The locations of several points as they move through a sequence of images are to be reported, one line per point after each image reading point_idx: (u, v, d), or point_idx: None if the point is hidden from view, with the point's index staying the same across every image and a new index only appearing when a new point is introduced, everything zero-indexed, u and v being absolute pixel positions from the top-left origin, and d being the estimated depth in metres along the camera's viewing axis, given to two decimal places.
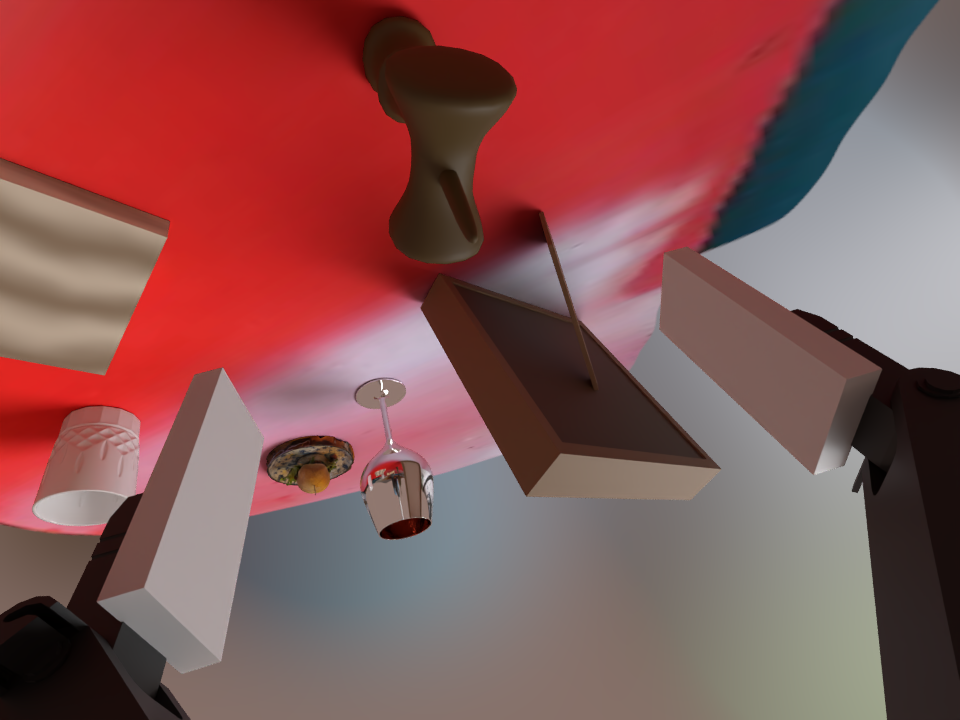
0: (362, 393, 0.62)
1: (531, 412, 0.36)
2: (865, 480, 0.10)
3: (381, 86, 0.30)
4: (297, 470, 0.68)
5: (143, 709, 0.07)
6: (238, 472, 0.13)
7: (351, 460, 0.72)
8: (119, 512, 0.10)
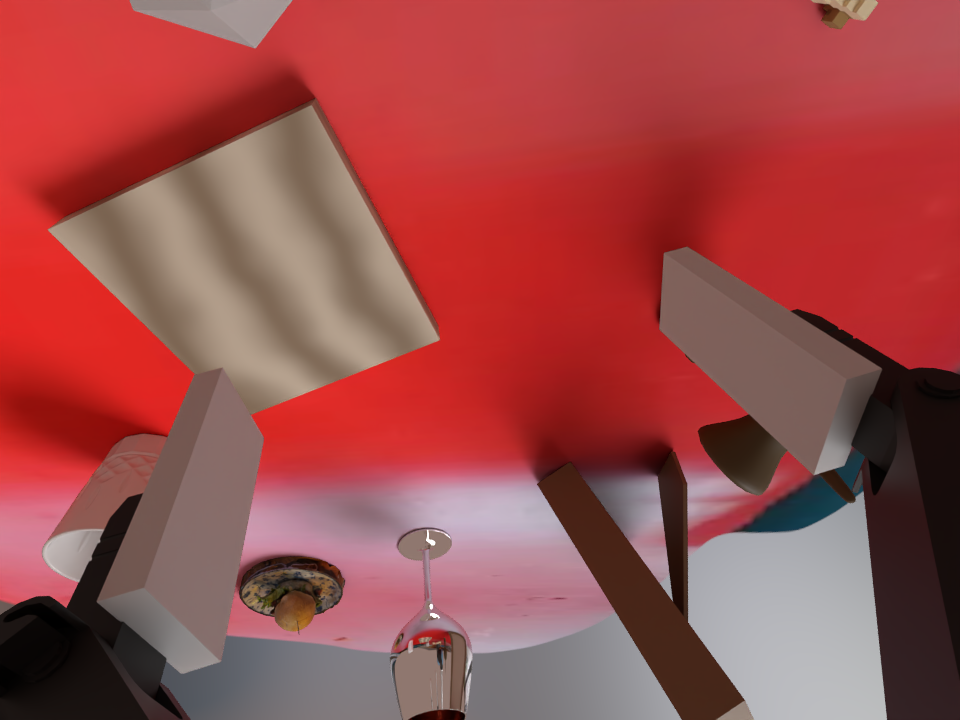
0: (411, 537, 0.58)
1: (701, 643, 0.37)
2: (865, 480, 0.10)
3: None
4: (281, 594, 0.57)
5: (143, 709, 0.07)
6: (238, 472, 0.13)
7: (333, 603, 0.62)
8: (119, 512, 0.10)
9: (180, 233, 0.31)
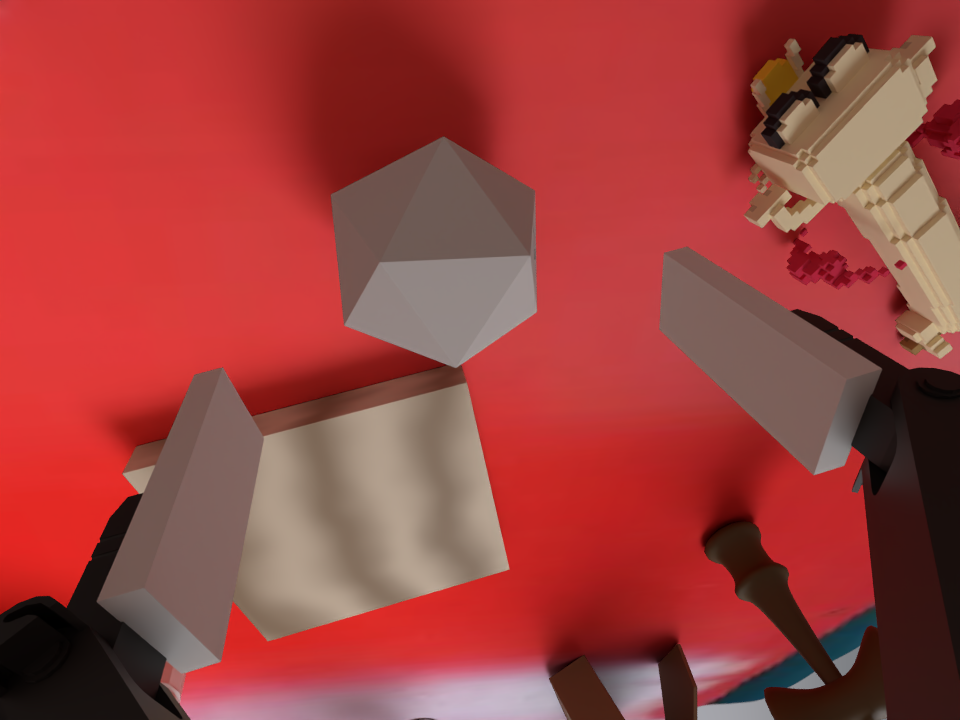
0: None
1: None
2: (865, 480, 0.10)
3: (757, 578, 0.40)
4: None
5: (143, 709, 0.07)
6: (238, 472, 0.13)
7: None
8: (119, 512, 0.10)
9: (278, 480, 0.27)
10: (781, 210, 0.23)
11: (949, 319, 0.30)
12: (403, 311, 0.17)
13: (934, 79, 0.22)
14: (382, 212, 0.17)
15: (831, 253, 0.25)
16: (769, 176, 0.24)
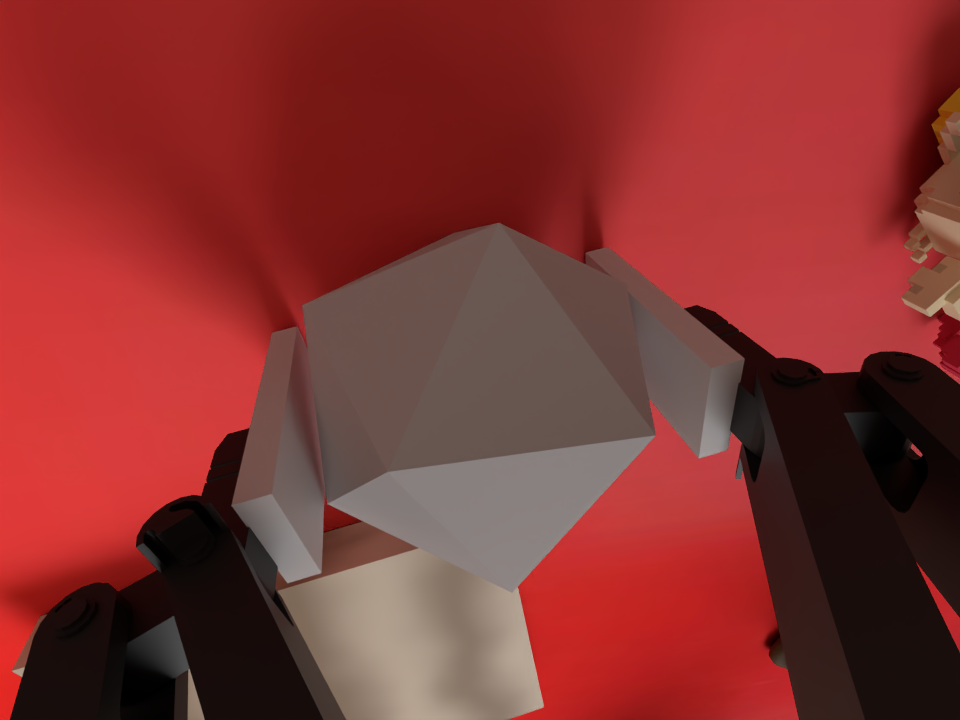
0: None
1: None
2: (744, 467, 0.11)
3: None
4: None
5: (270, 609, 0.08)
6: (315, 419, 0.14)
7: None
8: (223, 446, 0.12)
9: None
10: None
11: None
12: (427, 524, 0.10)
13: None
14: (391, 361, 0.09)
15: None
16: (937, 243, 0.17)
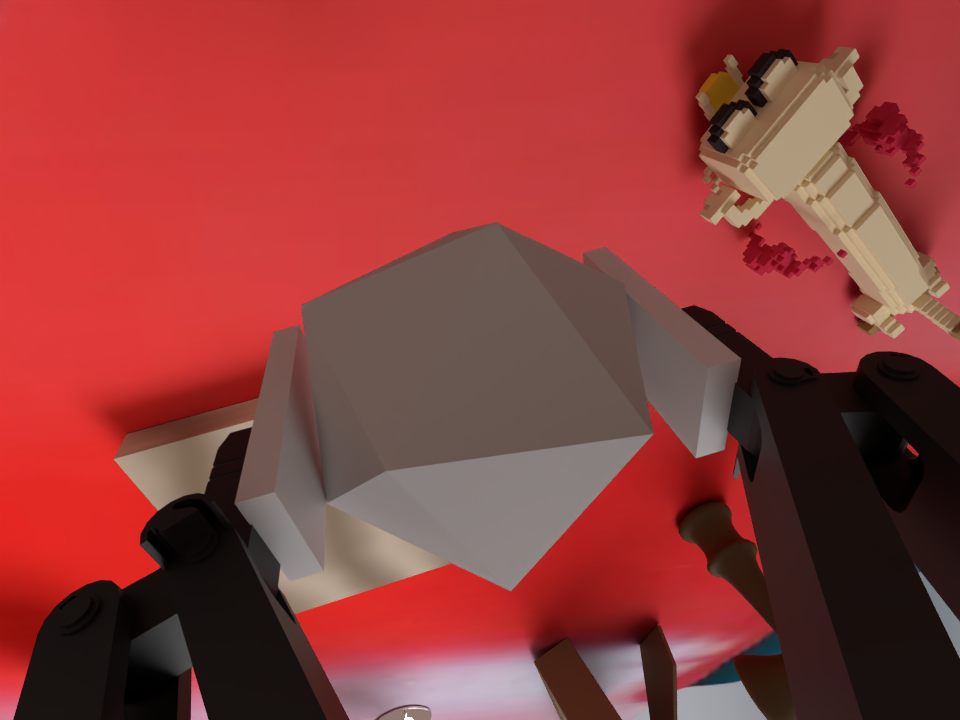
0: (391, 716, 0.53)
1: None
2: (742, 468, 0.11)
3: (727, 554, 0.41)
4: None
5: (273, 607, 0.08)
6: None
7: None
8: (225, 445, 0.12)
9: None
10: (731, 208, 0.26)
11: (897, 301, 0.32)
12: (426, 523, 0.10)
13: (861, 85, 0.24)
14: (389, 360, 0.09)
15: (780, 245, 0.27)
16: (720, 177, 0.27)
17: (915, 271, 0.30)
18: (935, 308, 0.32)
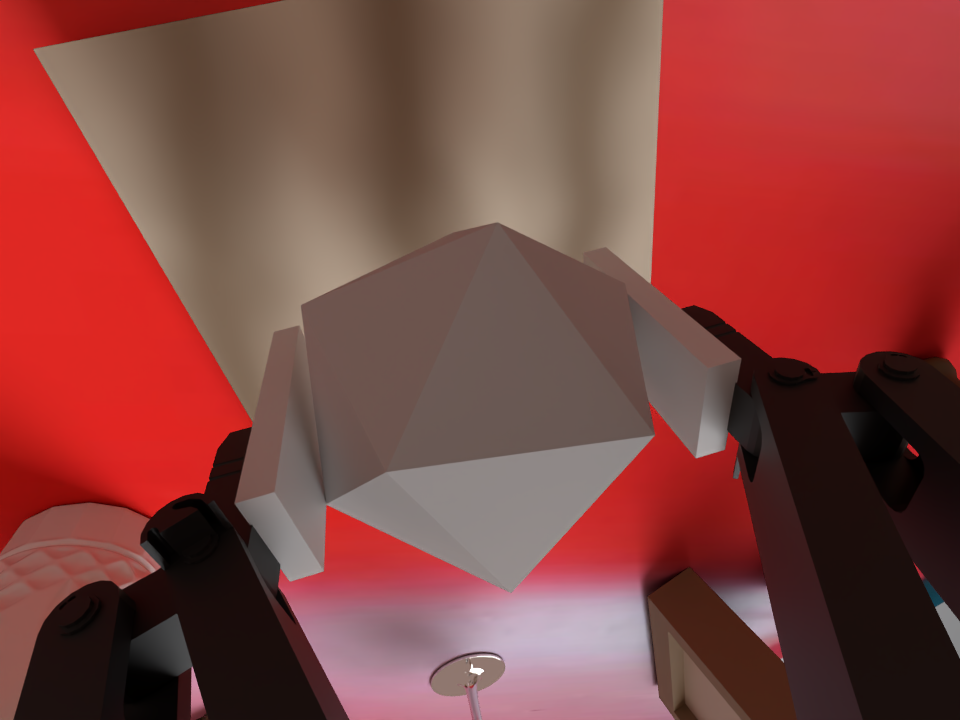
0: (456, 666, 0.40)
1: None
2: (742, 467, 0.11)
3: None
4: None
5: (273, 607, 0.08)
6: None
7: None
8: (225, 445, 0.12)
9: (324, 126, 0.15)
10: None
11: None
12: (426, 525, 0.10)
13: None
14: (389, 361, 0.09)
15: None
16: None
17: None
18: None
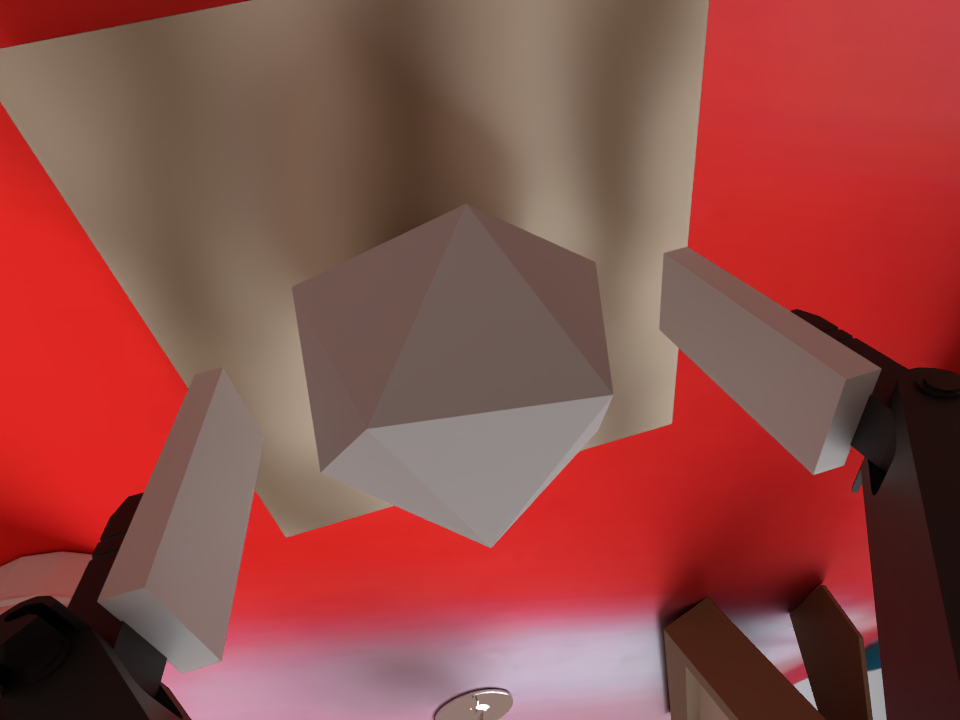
0: (461, 703, 0.38)
1: None
2: (864, 480, 0.10)
3: None
4: None
5: (144, 709, 0.07)
6: (238, 472, 0.13)
7: None
8: (120, 512, 0.10)
9: (319, 143, 0.13)
10: None
11: None
12: (408, 482, 0.11)
13: None
14: (370, 332, 0.10)
15: None
16: None
17: None
18: None
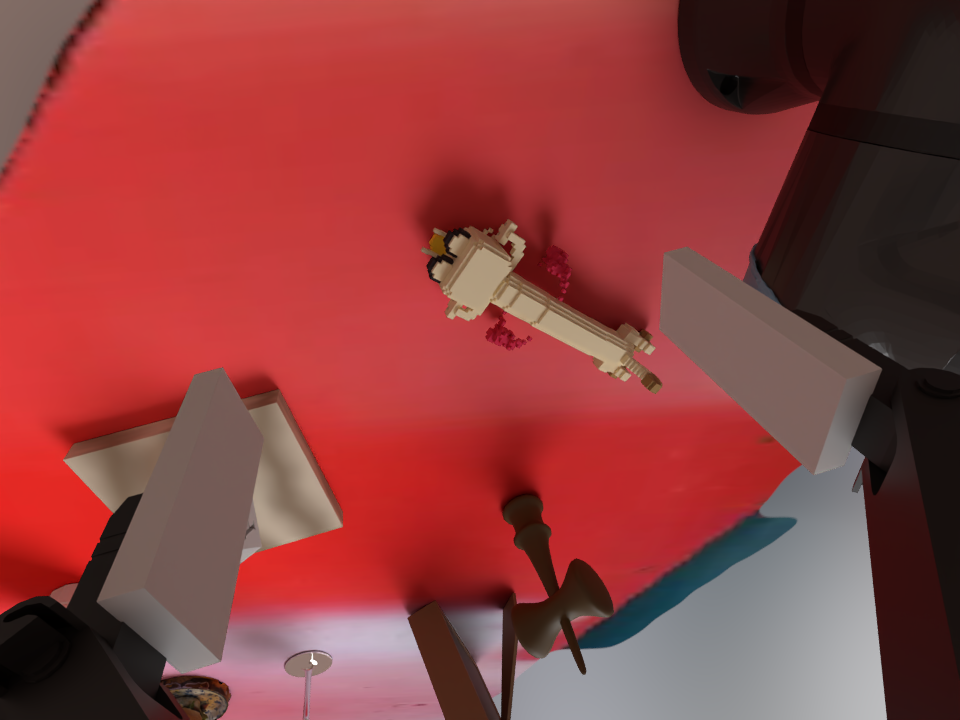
0: (298, 658, 0.68)
1: None
2: (865, 480, 0.10)
3: (524, 532, 0.57)
4: None
5: (143, 709, 0.07)
6: (238, 472, 0.13)
7: (216, 717, 0.70)
8: (120, 512, 0.10)
9: None
10: (458, 311, 0.41)
11: (606, 360, 0.47)
12: None
13: (524, 240, 0.39)
14: None
15: (500, 330, 0.43)
16: None
17: (603, 343, 0.45)
18: (632, 364, 0.47)
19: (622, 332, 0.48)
